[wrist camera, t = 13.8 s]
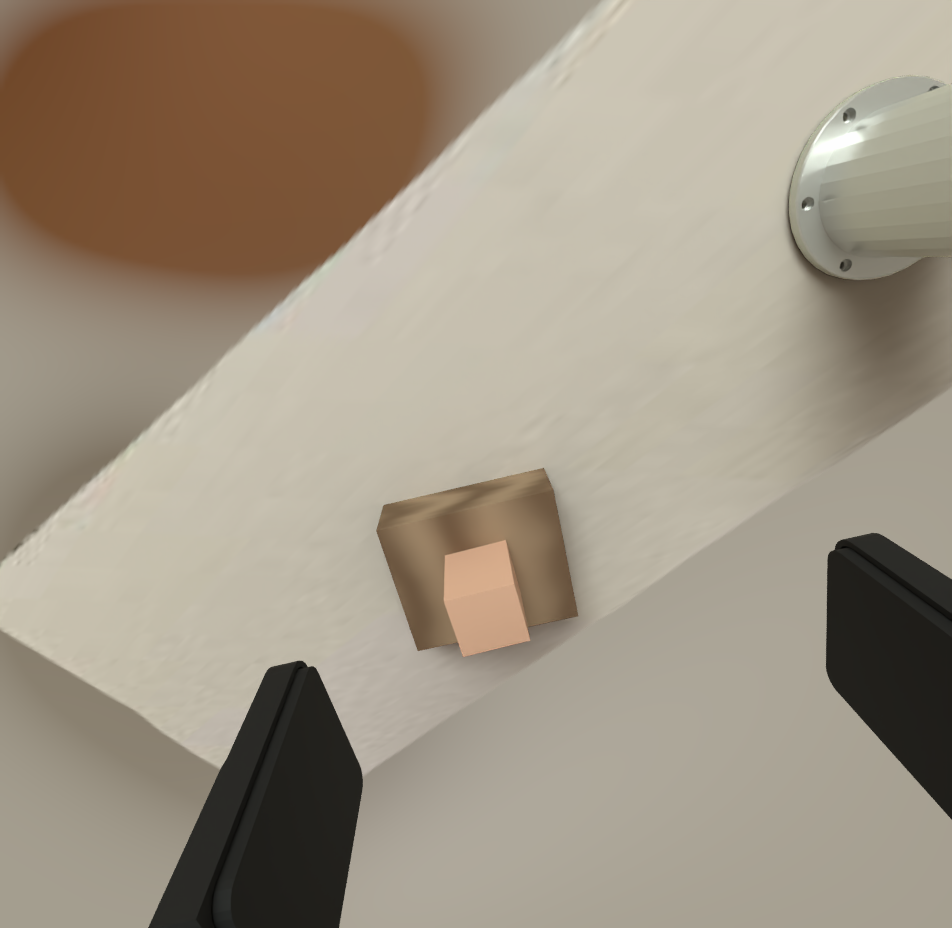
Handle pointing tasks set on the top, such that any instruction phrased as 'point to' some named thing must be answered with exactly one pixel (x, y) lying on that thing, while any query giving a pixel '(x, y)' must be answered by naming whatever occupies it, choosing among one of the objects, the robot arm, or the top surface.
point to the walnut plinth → (469, 526)
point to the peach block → (484, 599)
